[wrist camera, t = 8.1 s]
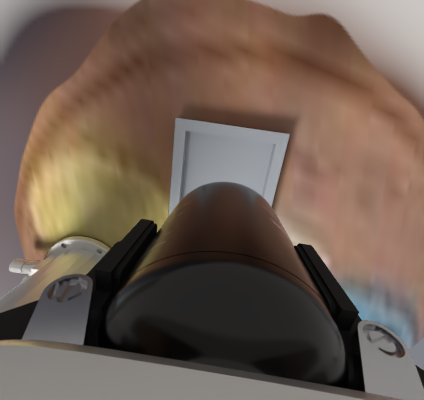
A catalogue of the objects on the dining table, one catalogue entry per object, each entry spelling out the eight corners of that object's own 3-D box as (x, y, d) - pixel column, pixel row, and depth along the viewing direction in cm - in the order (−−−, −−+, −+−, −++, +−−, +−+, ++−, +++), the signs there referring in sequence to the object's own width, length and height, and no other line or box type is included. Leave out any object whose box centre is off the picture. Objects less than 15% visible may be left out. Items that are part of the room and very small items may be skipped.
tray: (171, 214, 30) (168, 220, 28) (179, 118, 25) (175, 117, 23) (261, 228, 29) (264, 235, 28) (285, 133, 25) (289, 134, 23)
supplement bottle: (298, 209, 13) (894, 896, 1) (242, 286, 15) (293, 789, 4) (197, 157, 12) (-268, 630, 1) (155, 246, 14) (-118, 701, 3)
